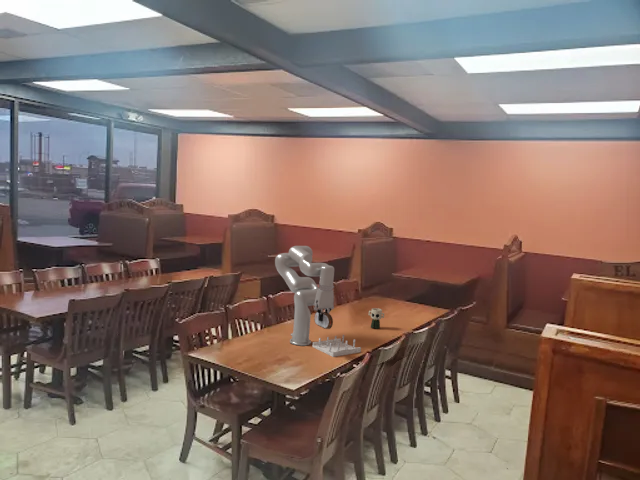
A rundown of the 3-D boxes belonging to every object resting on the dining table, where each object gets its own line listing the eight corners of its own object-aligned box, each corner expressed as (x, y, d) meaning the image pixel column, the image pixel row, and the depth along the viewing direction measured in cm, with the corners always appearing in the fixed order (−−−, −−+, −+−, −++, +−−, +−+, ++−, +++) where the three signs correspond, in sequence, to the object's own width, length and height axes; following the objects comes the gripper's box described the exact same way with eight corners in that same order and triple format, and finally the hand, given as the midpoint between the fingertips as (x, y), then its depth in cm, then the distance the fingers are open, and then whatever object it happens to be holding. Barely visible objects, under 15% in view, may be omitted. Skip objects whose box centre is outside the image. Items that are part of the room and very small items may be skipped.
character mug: (365, 327, 349) (367, 309, 348) (369, 325, 356) (370, 307, 354) (381, 330, 345) (383, 311, 344) (384, 328, 352) (386, 309, 350)
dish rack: (312, 346, 298) (313, 336, 297) (339, 342, 310) (340, 332, 310) (332, 356, 283) (333, 345, 282) (360, 352, 295) (361, 341, 295)
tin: (332, 330, 280) (334, 315, 280) (327, 330, 278) (329, 315, 278) (316, 323, 293) (319, 309, 292) (312, 323, 291) (314, 308, 290)
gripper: (333, 285, 291) (331, 317, 293) (309, 287, 282) (306, 319, 284) (341, 288, 285) (338, 321, 287) (317, 290, 276) (314, 323, 278)
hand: (322, 320), depth 286 cm, fingers closed on tin, 2 cm apart
